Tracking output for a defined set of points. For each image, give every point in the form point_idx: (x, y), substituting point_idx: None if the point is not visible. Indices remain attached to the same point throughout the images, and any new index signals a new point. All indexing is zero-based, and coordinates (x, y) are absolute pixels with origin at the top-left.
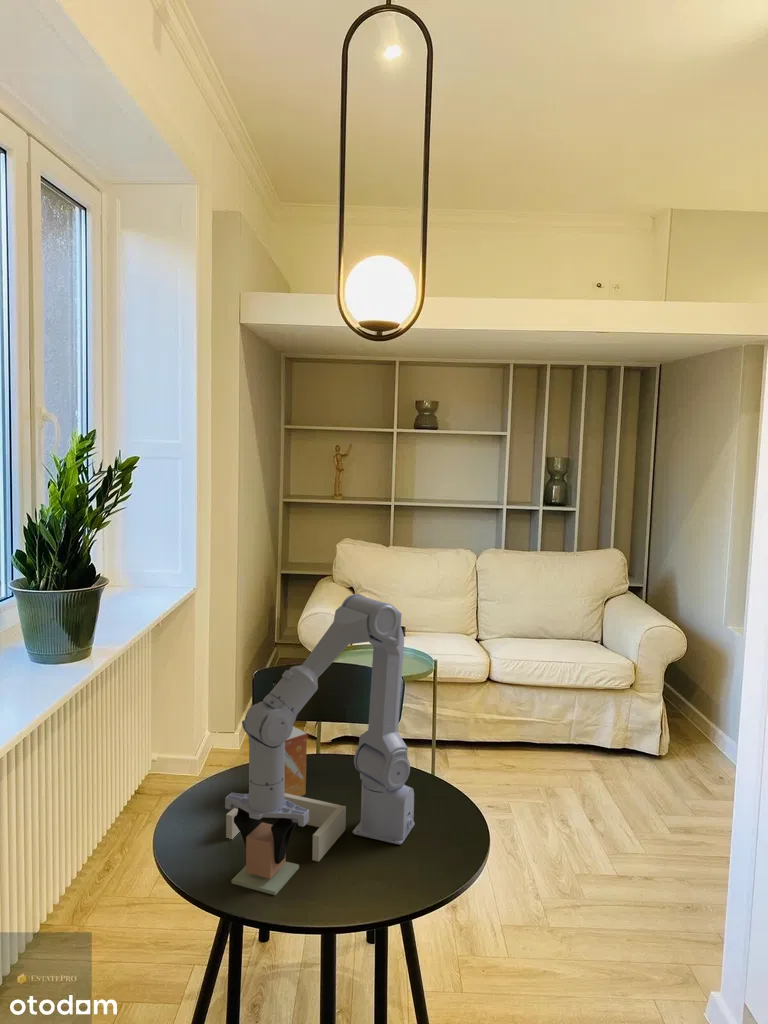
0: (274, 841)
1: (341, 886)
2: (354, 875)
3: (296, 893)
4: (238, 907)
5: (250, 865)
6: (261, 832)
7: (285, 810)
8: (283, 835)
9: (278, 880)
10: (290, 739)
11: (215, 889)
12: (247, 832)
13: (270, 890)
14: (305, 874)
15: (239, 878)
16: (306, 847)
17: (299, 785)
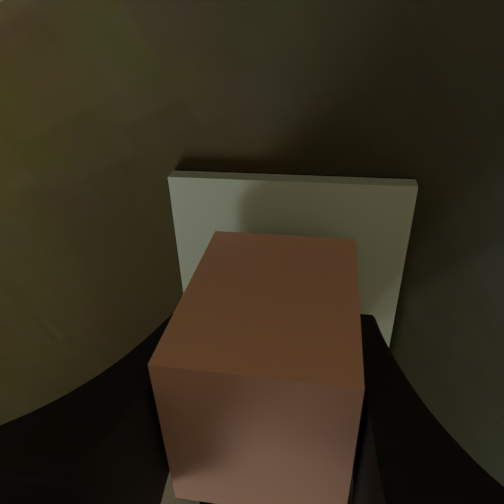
0: (142, 385)
1: (8, 295)
2: (17, 351)
3: (108, 212)
4: (282, 10)
5: (326, 259)
6: (285, 447)
7: None
8: (5, 423)
9: (203, 250)
10: None
11: (483, 103)
12: (372, 429)
13: (193, 177)
14: (153, 319)
15: (382, 208)
16: None
17: None
